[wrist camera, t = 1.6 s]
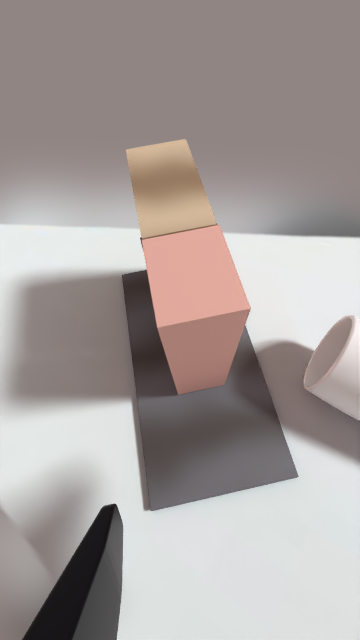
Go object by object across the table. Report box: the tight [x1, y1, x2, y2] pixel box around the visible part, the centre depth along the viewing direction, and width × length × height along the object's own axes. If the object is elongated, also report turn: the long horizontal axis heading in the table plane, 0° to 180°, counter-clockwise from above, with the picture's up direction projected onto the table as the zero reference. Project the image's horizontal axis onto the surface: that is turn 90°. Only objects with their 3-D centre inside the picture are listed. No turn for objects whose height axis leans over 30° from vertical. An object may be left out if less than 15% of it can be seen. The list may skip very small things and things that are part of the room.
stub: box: [142, 225, 251, 395], centre depth 18 cm, size 5×4×13 cm
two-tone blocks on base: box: [122, 139, 298, 511], centre depth 19 cm, size 22×11×14 cm, turn 11°
